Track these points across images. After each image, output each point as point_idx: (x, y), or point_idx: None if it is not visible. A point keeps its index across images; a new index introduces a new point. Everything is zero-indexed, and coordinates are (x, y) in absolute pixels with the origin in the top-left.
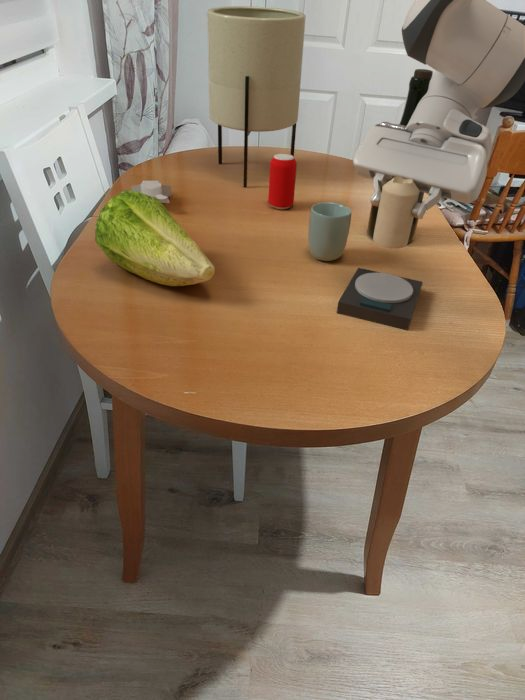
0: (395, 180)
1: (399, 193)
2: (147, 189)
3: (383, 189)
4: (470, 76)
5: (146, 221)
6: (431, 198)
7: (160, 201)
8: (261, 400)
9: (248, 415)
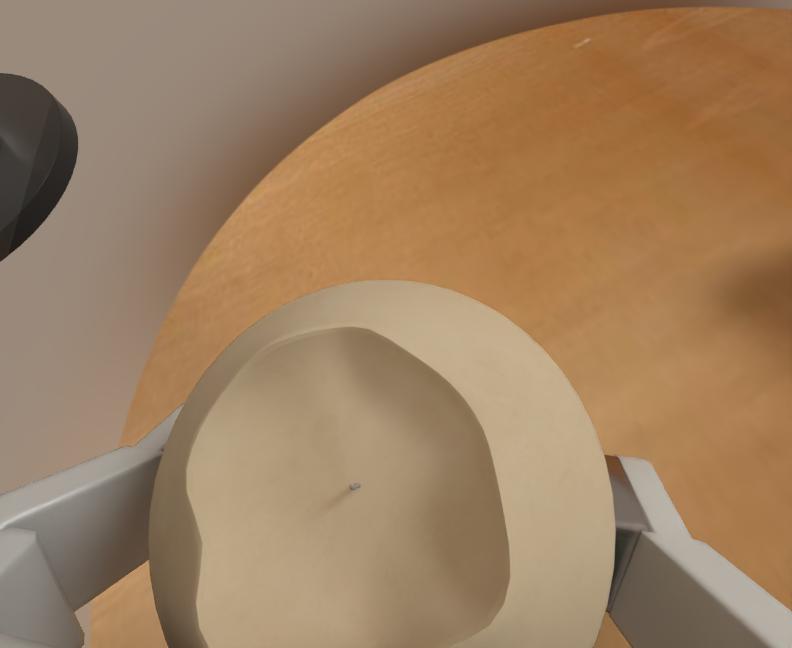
0: (476, 527)
1: (337, 290)
2: None
3: (540, 346)
4: None
5: None
6: (42, 481)
7: None
8: (480, 83)
9: (478, 55)
